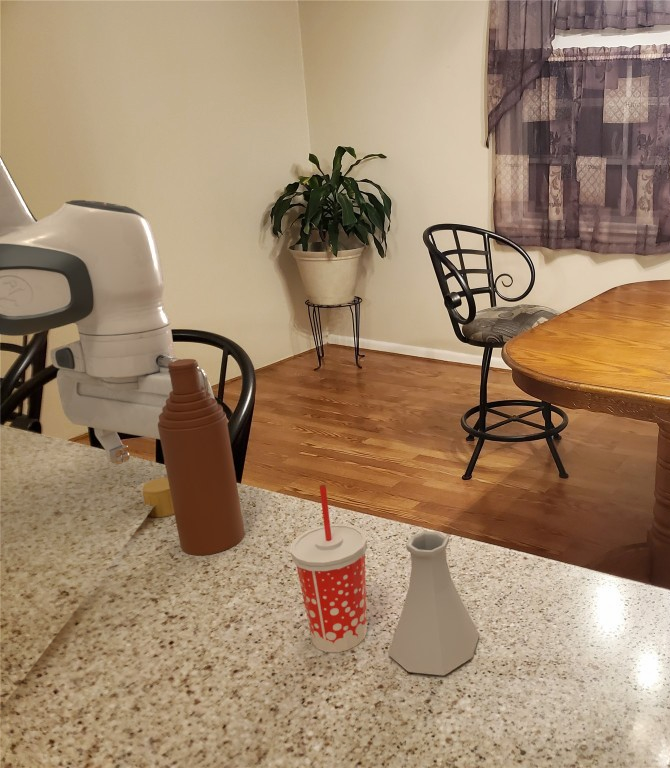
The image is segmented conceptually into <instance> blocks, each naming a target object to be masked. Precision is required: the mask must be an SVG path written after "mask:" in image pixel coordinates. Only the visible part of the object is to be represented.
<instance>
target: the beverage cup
mask: <svg viewBox="0 0 670 768" xmlns="http://www.w3.org/2000/svg"><path fill="white" fill-rule="evenodd" d="M319 493H320V502H321V509H322V510H321V511H322V520H323V525H318V526H315V527H313V528H310V529H308V530H306V531H304V532H302V533H300V534H299V535H298V536H296V537H295V538H294V540H293V541H292V542H291V544H290V556H291V561H292V562H293V563H294V564H295V566H296V570H297V575H298V581H299V584H300V589H301V595H302V598H303V602H304V608H305V613H306V618H307V623H308V628H309V632H310V638H311V642H312V645H313V646H314V647H315V648H316V649H317V650H319V651H322V652H325V653H340V652H345V651H349V650H351V649H352V648H354V647H357V646H358V645H359V644H360V643H361V642H363V641H364V640H365V638H366V636H367V633H368V616H367V583H366V581H367V580H366V552H367V550H368V537H367V533H366V531H365V530H364V529H362V528H361V527H359V526H356V525H353V524H349V523H331V520H330V512H329V504H328V494H327V486H326V485H325V484H321V485H319Z"/></svg>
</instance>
